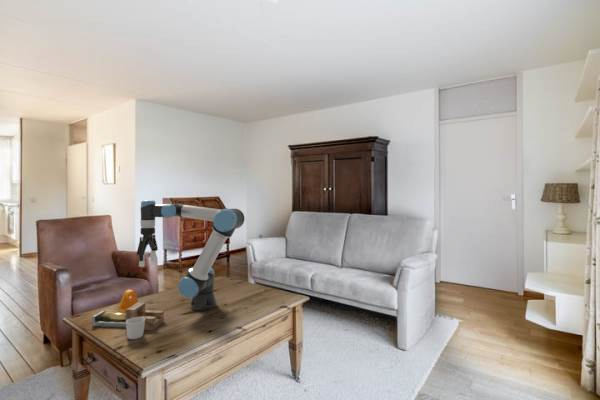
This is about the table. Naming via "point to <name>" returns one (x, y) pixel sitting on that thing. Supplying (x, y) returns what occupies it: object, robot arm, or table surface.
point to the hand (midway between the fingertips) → (147, 264)
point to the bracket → (127, 301)
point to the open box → (145, 315)
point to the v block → (106, 322)
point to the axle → (114, 317)
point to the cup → (135, 327)
